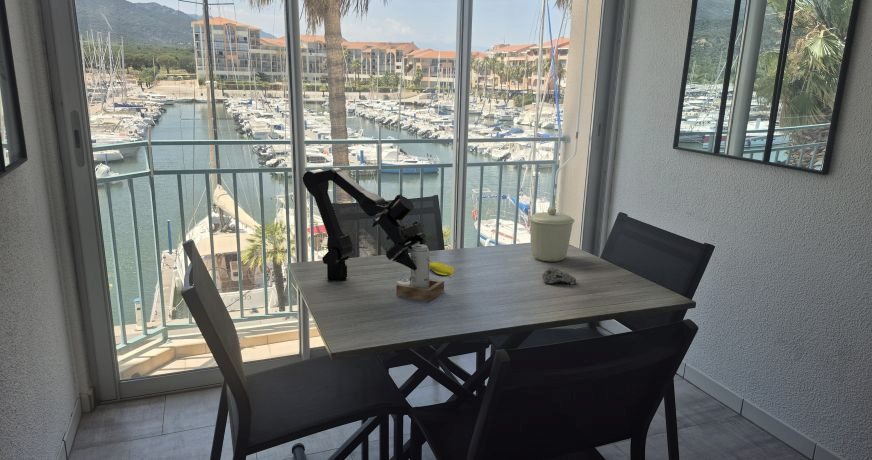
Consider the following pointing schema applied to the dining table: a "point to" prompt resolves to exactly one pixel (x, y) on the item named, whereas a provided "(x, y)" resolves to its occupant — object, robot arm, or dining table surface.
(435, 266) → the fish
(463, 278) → the dining table surface
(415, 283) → the energy drink can
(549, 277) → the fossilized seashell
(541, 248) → the canister
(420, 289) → the wooden tray
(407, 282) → the mounting bracket
